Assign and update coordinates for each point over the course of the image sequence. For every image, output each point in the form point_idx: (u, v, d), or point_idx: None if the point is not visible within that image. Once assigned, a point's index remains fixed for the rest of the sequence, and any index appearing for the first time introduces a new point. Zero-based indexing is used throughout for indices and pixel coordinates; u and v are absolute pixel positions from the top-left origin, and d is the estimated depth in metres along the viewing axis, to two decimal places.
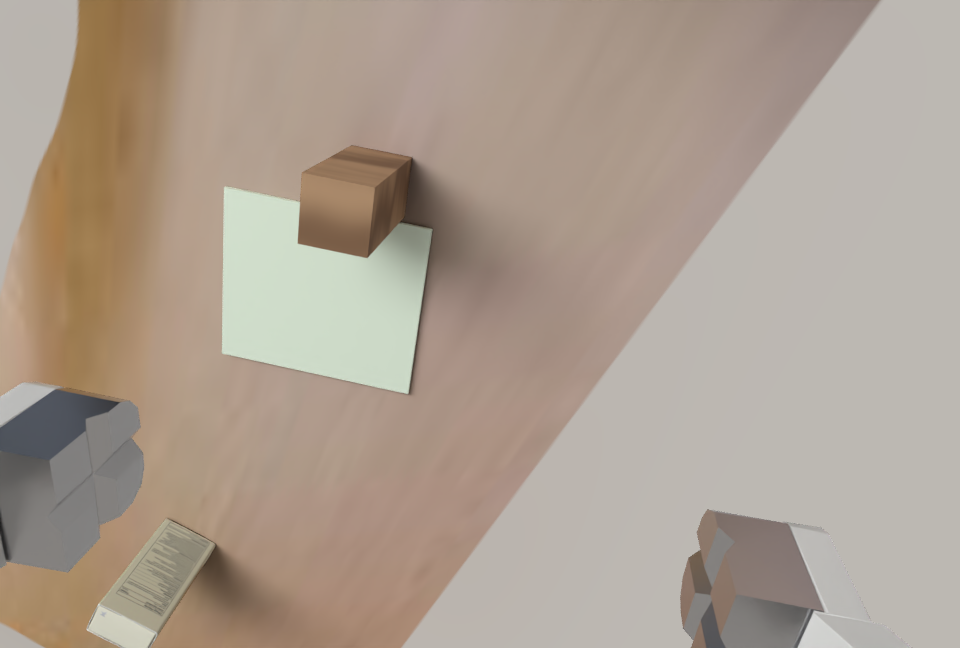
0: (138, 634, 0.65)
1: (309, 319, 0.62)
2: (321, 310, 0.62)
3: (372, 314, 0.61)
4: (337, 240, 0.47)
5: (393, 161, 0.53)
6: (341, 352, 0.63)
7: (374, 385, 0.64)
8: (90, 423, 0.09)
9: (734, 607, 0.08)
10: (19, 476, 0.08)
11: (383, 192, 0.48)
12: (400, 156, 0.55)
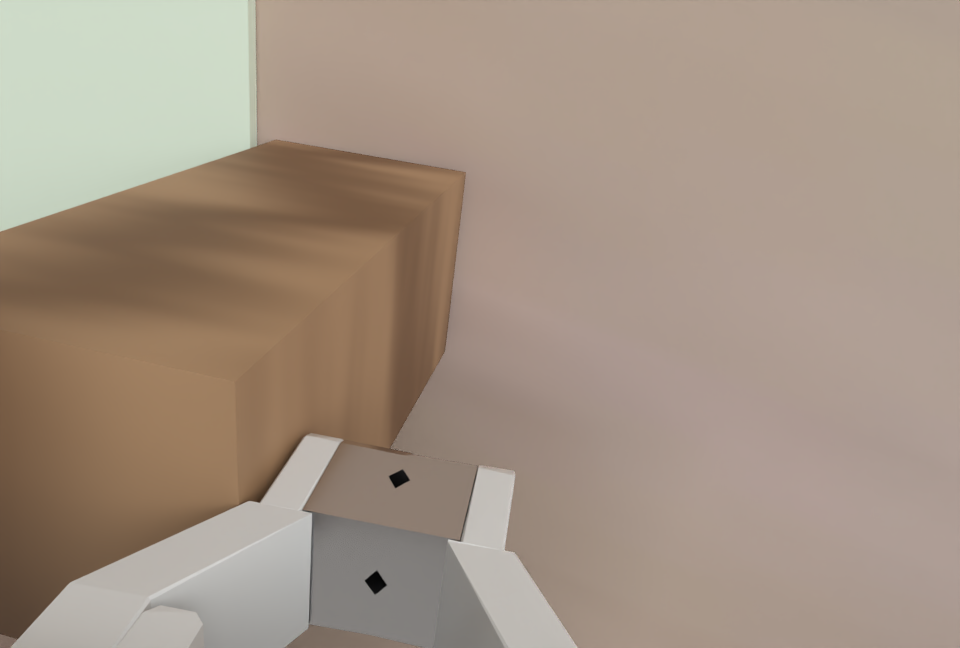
0: None
1: None
2: None
3: None
4: None
5: (421, 367, 0.16)
6: None
7: None
8: (390, 480, 0.09)
9: (383, 538, 0.08)
10: (344, 541, 0.08)
11: None
12: (443, 330, 0.18)
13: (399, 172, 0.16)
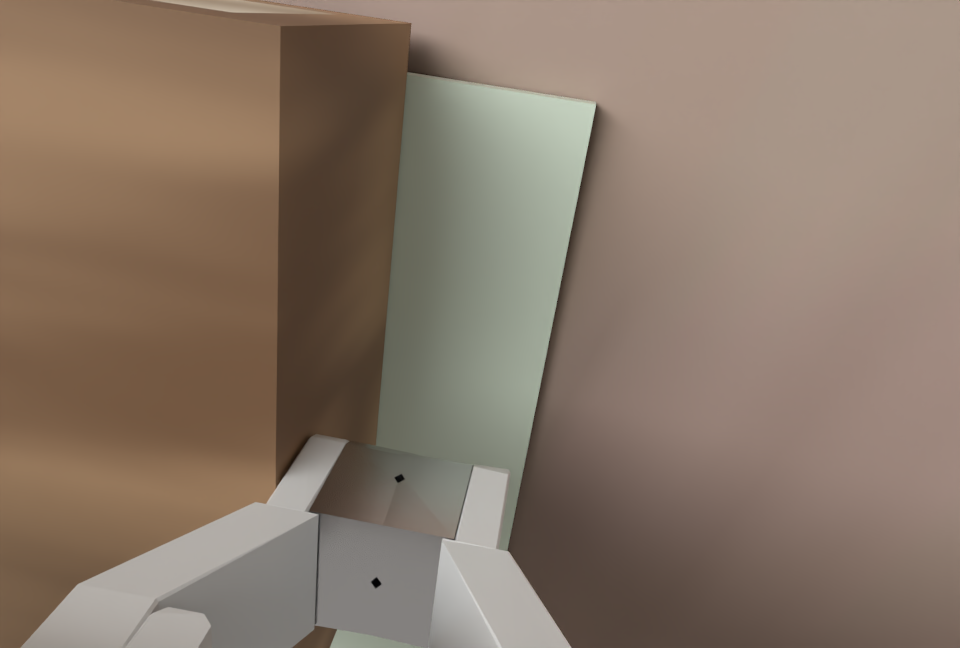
0: None
1: None
2: None
3: None
4: None
5: (200, 283, 0.07)
6: None
7: None
8: (396, 481, 0.09)
9: (377, 537, 0.08)
10: (350, 542, 0.08)
11: None
12: (193, 66, 0.06)
13: None
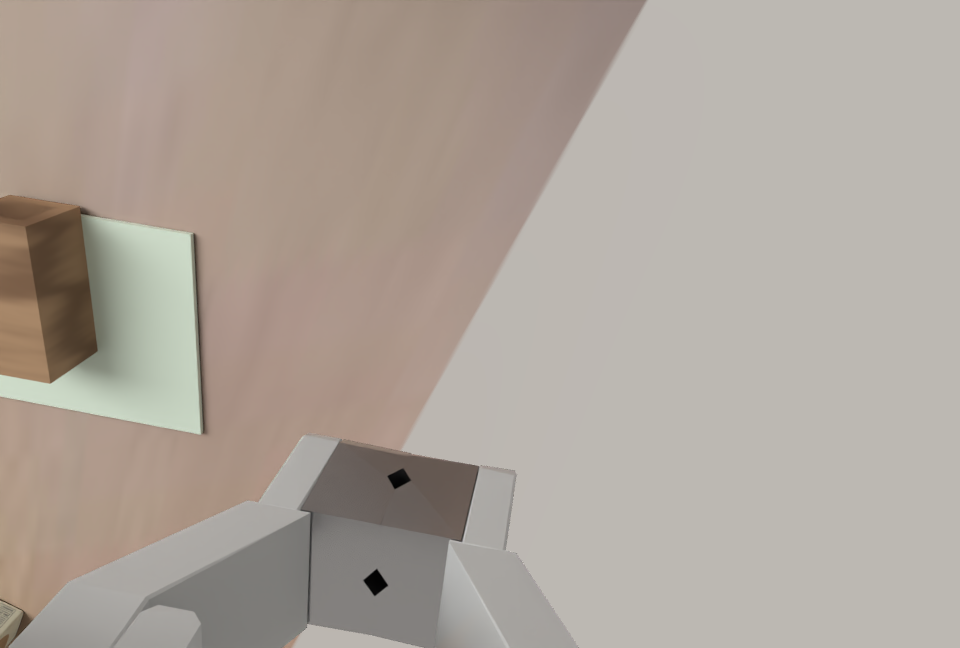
0: None
1: None
2: None
3: (141, 340, 0.50)
4: None
5: (18, 265, 0.43)
6: (114, 387, 0.52)
7: (160, 425, 0.53)
8: (389, 480, 0.09)
9: (384, 538, 0.08)
10: (342, 540, 0.08)
11: (54, 344, 0.46)
12: (13, 231, 0.42)
13: None
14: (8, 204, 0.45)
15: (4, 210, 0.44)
